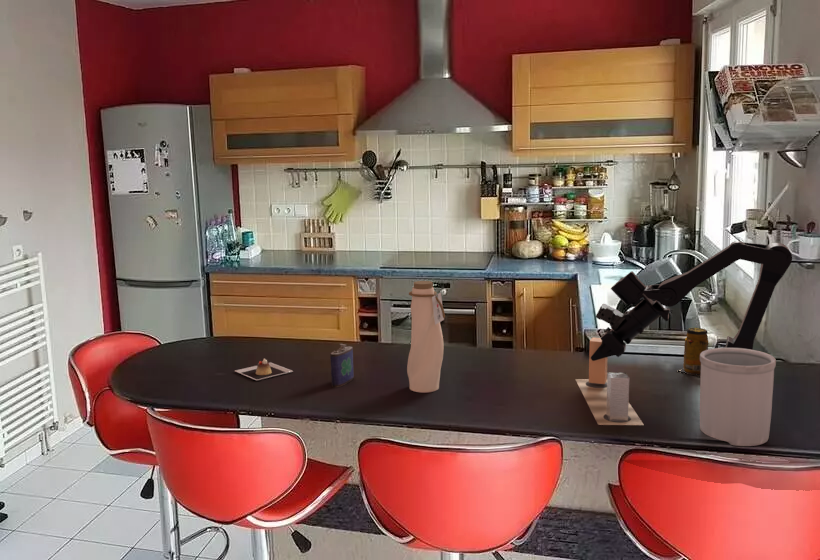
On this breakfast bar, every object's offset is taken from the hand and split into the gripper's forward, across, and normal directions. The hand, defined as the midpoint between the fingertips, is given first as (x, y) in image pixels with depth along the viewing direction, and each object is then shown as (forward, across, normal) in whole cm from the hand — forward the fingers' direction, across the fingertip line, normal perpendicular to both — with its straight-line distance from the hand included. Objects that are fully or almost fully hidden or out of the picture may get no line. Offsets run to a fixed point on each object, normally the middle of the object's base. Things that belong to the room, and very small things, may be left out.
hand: (593, 357), depth 192 cm
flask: (+50, +19, -39) cm, 66 cm away
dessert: (+68, +19, -56) cm, 91 cm away
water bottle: (+34, +16, -23) cm, 44 cm away
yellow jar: (-12, -23, +23) cm, 35 cm away
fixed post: (-1, +23, +12) cm, 26 cm away
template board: (+2, +11, +9) cm, 15 cm away
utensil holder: (-18, +22, +30) cm, 41 cm away
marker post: (+4, 0, +5) cm, 6 cm away
